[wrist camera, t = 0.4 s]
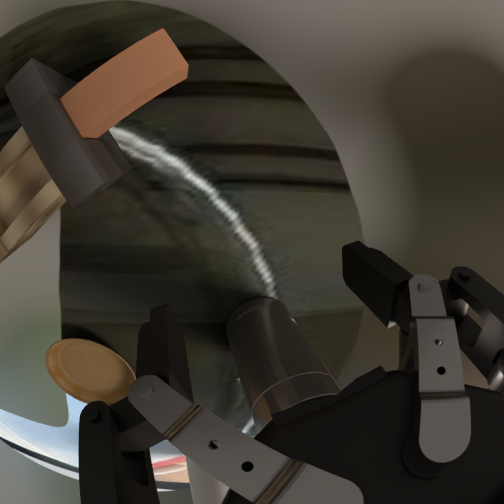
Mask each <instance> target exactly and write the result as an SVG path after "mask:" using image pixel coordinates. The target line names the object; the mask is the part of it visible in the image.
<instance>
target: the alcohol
mask: <svg viewBox="0 0 504 504" xmlns="http://www.w3.org/2000/svg"><path fill="white" fill-rule="evenodd" d="M185 456H186V455H185ZM186 463H187V469H188V475H189V481H190V487H191V492H192V497H193V502H194V504H221V503H222V501H223V499H224V497H225V495H226V493H227V491H228V489H229V487H228V486H226V485H225V484H223V483H222V482H220V481H219V480H217V479H216V478H215V477H213V476H212V475H211V474H209V473H208V472H206V471H205V470H204V469H202V468H201V467H200V466H199V465H197V464H196V463H195V462H193V461H192V460H191V459H190V458H188V457H187V456H186Z"/></svg>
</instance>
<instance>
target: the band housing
mask: <svg viewBox="0 0 504 504" xmlns="http://www.w3.org/2000/svg"><path fill="white" fill-rule="evenodd" d="M77 84H78V83H77V82H75V81H73V80H71V79H70V78H68V77H66V76H64V75H63V74H61V73H59V72H57V71H55V70H54V69H52V68H50V67H48V66H46V65H44V64H42V63H41V62H39V61H37V60H35V59H33V58H31V59H30V60H29V61H28V62H27V63H26V64H25V65H24V66H23V67H22V68H21V69H20V70H19V71H18V72H17V73H16V74H15V75H14V76H13V77H12V78H11V80H10V81H9V82H8V83H7V84H6V85H5V86H4V88H5V90H6V93H7V95H8V97H9V99H10V102H11V104H12V106H13V108H14V110H15V113H16V115H17V117H18V119H19V121H20V123H21V125H22V127H21V128H20V129H19V130H18V131H17V132H16V133H15V134H14V136H13V137H12V138H11V139H10V140H9V142H8V143H7V144H6V145H5V146H4V148H3V149H2V150H1V151H0V263H1V262H2V261H3V260H5V259H6V258H7V257H8V256H9V255H10V254H12V253H13V252H14V251H15V250H16V249H18V248H19V247H20V246H21V245H23V244H24V243H25V242H26V241H27V240H29V239H30V238H31V237H32V236H33V235H34V234H35V233H36V232H37V231H38V229H39V228H40V227H41V226H42V225H43V224H44V223H45V222H46V221H47V220H48V219H49V218H50V217H51V216H52V215H53V214H54V213H55V212H56V211H57V210H58V209H59V208H60V207H61V206H62V205H63V204H64V203H65V202H66V201H67V202H68V204H69V205H70V207H71V208H72V209H73V208H75V207H76V206H78V205H79V204H81V203H82V202H84V201H86V200H87V199H89V198H90V197H92V196H93V195H95V194H97V193H98V192H100V191H101V190H103V189H105V188H106V187H108V186H110V185H111V184H113V183H114V182H115V181H116V180H118V179H119V178H120V177H122V176H123V175H124V174H125V173H127V172H128V171H129V170H131V169H132V168H133V167H132V165H131V164H130V162H129V161H128V159H127V158H126V156H125V155H124V153H123V152H122V150H121V149H120V147H119V146H118V144H117V143H116V141H115V139H114V138H113V136H112V135H111V133H110V132H109V130H107V131H106V132H105V133H103V134H102V135H101V136H100V137H98V138H97V139H83V138H82V136H81V134H80V133H79V131H78V129H77V128H76V126H75V124H74V123H73V121H72V119H71V118H70V116H69V114H68V112H67V111H66V109H65V107H64V105H63V104H62V102H61V100H60V98H61V97H63V96H64V95H65V94H66V93H67V92H68V91H70V90H71V89H72V88H73V87H74V86H76V85H77Z"/></svg>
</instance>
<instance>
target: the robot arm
mask: <svg viewBox="0 0 504 504" xmlns="http://www.w3.org/2000/svg"><path fill="white" fill-rule="evenodd" d="M342 263H343V278H344V281H345V283H346V285H347V286H348V287H349V288H350V289H351V290H352V291H353V292H354V293H355V294H356V295H357V296H358V297H359V298H360V300H361V301H362V302H363V303H364V304H365V305H366V306H367V307H368V308H369V309H370V310H371V311H372V312H373V313H374V314H375V315H376V316H377V317H378V318H379V319H380V321H381V322H382V323H383V324H384V325H385V326H386V327H387V328H389V327H391V326H393V325H395V324H398V326H399V327H400V331H399V368H398V370H394V371H387V372H386V371H385V370H384V369H383V368H382V367H381V366H379V367H377V368H375V369H373V370H372V371H370V372H368V373H366V374H364V375H362V376H360V377H358V378H356V379H355V380H354V381H353V382H352V383H350V384H349V385H348V386H347V387H346V388H344V389H343V390H342V391H341V389H340V388H339V386H338V385H337V383H336V382H335V380H334V379H333V377H332V376H331V374H330V373H329V371H328V370H327V368H326V367H325V365H324V364H323V362H322V361H321V359H320V358H319V356H318V355H317V353H316V352H315V350H314V349H313V347H312V346H311V344H310V343H309V341H308V340H307V338H306V337H305V335H304V334H303V332H302V331H301V329H300V328H299V326H298V324H297V323H296V321H295V320H294V318H293V317H292V315H291V314H290V312H289V311H288V309H287V308H286V307H285V305H284V304H282V303H281V302H280V301H278V300H276V299H272V298H256V299H252V300H249V301H247V302H245V303H243V304H241V305H240V306H239V307H238V308H236V309H235V310H234V311H233V313H232V314H231V315H230V317H229V319H228V321H227V325H226V334H227V337H228V341H229V344H230V348H231V351H232V355H233V358H234V362H235V365H236V368H237V371H238V375H239V378H240V381H241V384H242V387H243V390H244V394H245V397H246V400H247V403H248V406H249V409H250V412H251V415H252V417H253V420H254V423H255V426H256V429H257V432H258V434H257V435H256V436H255V438H254V439H253V438H251V437H250V436H248V435H246V434H244V433H243V432H241V431H239V430H238V429H236V428H235V427H233V426H231V425H230V424H228V423H227V422H225V421H223V420H222V419H220V418H219V417H217V416H216V415H214V414H213V413H211V412H210V411H208V410H207V409H205V408H204V407H202V406H200V405H197V406H195V405H194V400H193V394H192V388H191V381H190V375H189V368H188V361H187V353H186V346H185V340H184V336H183V334H182V331H181V329H180V327H179V325H178V323H177V321H176V319H175V317H174V315H173V313H172V311H171V309H170V307H169V305H168V304H165V305H162V306H159V307H155V308H152V309H151V311H150V322H147V323H143V325H142V327H141V329H140V331H139V333H138V345H137V351H138V352H137V364H136V380H135V381H134V382H133V383H132V384H131V385H130V387H129V389H128V395H127V396H126V397H125V398H123V399H122V400H120V401H118V402H116V403H114V404H112V405H110V406H108V405H107V404H106V403H105V402H103V401H93V402H91V403H89V404H87V405H86V406H85V407H84V409H83V410H82V412H81V414H80V421H79V483H80V497H81V504H160V502H159V498H158V493H157V488H156V483H155V478H154V473H153V468H152V462H151V456H150V450H149V448H150V447H152V446H154V445H156V444H158V443H160V442H162V441H163V440H165V439H167V440H169V441H170V442H171V443H172V444H173V445H174V446H175V447H176V448H178V449H179V450H180V451H181V452H182V453H184V454H185V455H186V456H187V457H188V458H190V459H191V460H192V461H193V462H195V463H196V464H197V465H199V466H200V467H201V468H202V469H204V470H205V471H206V472H208V473H209V474H211V475H212V476H213V477H215V478H216V479H217V480H219V481H220V482H222V483H223V484H225V485H226V486H228V487H229V489H228V491H227V493H226V495H225V497H224V499H223V501H222V503H221V504H504V295H503V294H502V293H501V292H499V291H498V290H497V289H496V288H494V287H493V286H492V285H491V284H490V283H488V282H487V281H486V280H485V279H483V278H482V277H481V276H480V275H478V274H477V273H476V272H474V271H473V270H471V269H470V268H467V267H460V266H459V267H455V268H453V270H452V271H451V275H450V279H446V280H442V281H437V280H436V279H434V278H433V277H431V276H428V275H417V276H413V275H412V274H411V273H409V272H408V271H407V270H405V269H404V268H403V267H401V266H400V265H399V264H397V263H396V262H394V261H393V260H392V259H391V258H388V256H387V255H385V254H384V253H383V252H381V251H379V250H376V249H374V248H368V247H367V246H365V245H364V244H363V243H361V242H360V241H356V242H353V243H350V244H347V245H344V246H343V248H342ZM469 306H470V307H471V308H472V309H473V310H475V311H476V312H477V313H478V314H479V315H480V316H481V317H482V319H483V322H484V323H483V324H484V325H483V328H481V327H480V326H479V325H478V324H477V323H476V322H475V321H474V320H473V319H472V318H470V316H469V315H467V314H466V313H467V310H468V307H469ZM460 349H461V350H462V351H463V352H464V353H465V354H466V356H467V357H468V358H469V359H470V360H471V361H472V363H473V364H474V365H475V366H476V367H477V368H478V370H479V371H480V372H481V373H482V374H483V375H484V377H485V378H486V379H487V382H488V386H489V387H488V389H484V388H480V387H474V386H470V385H466V384H464V381H463V380H464V379H463V371H462V362H461V355H460Z"/></svg>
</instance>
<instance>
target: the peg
mask: <svg viewBox="0 0 504 504" xmlns="http://www.w3.org/2000/svg"><path fill="white" fill-rule="evenodd" d="M187 73H188V64H187V62H186V61H185V59H184V58H183V56H182V55H181V53H180V52H179V50H178V49H177V47H176V46H175V44H174V43H173V41H172V40H171V39H170V37H169V36H168V34H167V33H166V31H165V30H164V28H162V29H161V30H159V31H157V32H155V33H153V34H151V35H149V36H148V37H146V38H144V39H142V40H141V41H139V42H137V43H135V44H134V45H132V46H130V47H129V48H127V49H126V50H124V51H122V52H121V53H119V54H118V55H116V56H115V57H113V58H112V59H110V60H109V61H107V62H106V63H105V64H103V65H102V66H100V67H99V68H98V69H96V70H95V71H93V72H92V73H91V74H89V75H88V76H87V77H86V78H84V79H83V80H82V81H80V82H79V83H78V84H77V85H76V86H74V87H73V88H72V89H71V90H70V91H68V92H67V93H66V94H65V95H64V96H63V97H61V98H60V100H61V102H62V104H63V105H64V107H65V109H66V111H67V112H68V114H69V116H70V118H71V119H72V121H73V123H74V124H75V126H76V128H77V129H78V131H79V133H80V134H81V136H82V138H83V139H97V138H98V137H100V136H101V135H102V134H103V133H105V132H106V131H107V130H109V129H110V128H111V127H112V126H114V125H115V124H116V123H118V122H119V121H120V120H122V119H123V118H125V117H126V116H127V115H129V114H130V113H132V112H133V111H134V110H136V109H137V108H139V107H140V106H142V105H143V104H145V103H146V102H148V101H149V100H151V99H152V98H154V97H156V96H157V95H159V94H160V93H162V92H164V91H165V90H167V89H169V88H170V87H172V86H174V85H175V84H177V83H179V82H181V81H182V80H184V79H186V78H187Z"/></svg>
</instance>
